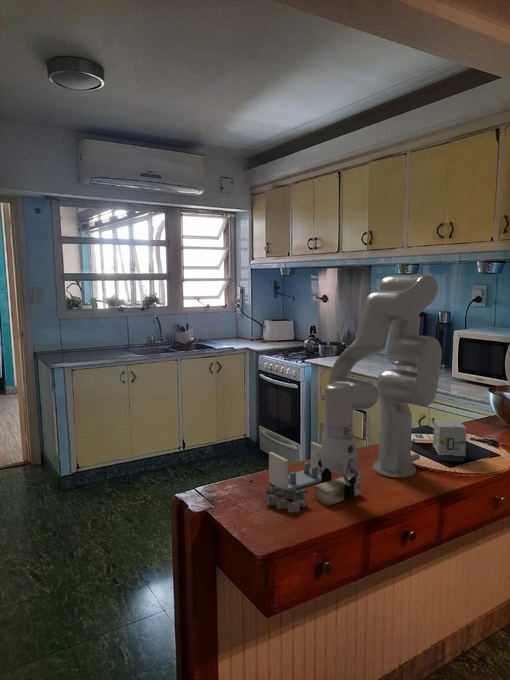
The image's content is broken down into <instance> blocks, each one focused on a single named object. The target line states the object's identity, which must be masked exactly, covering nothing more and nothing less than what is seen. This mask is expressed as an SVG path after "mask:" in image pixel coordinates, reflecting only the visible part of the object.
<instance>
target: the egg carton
mask: <svg viewBox="0 0 510 680" xmlns="http://www.w3.org/2000/svg"><path fill="white" fill-rule="evenodd" d="M262 492H263V494H264V502H265V503H266V504H265V505H267V506H273V505H274V506H276V508H277V509H279V510H281V509H287V512H288V513H298V512H300V508H301V507H302V508H305V507H306V506H307V498H306V496H307V495H308V494H309V491H308V490H306V489H302V488H297V489H293V490H290V489H288V488H279V487H278V486H274V487H273V486H271V487H269V488H268V489H266V490H263V491H262ZM289 500H292V501H293V502H290V501H289Z"/></svg>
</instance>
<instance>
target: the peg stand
mask: <svg viewBox="0 0 510 680" xmlns="http://www.w3.org/2000/svg"><path fill="white" fill-rule="evenodd" d="M321 445H322V444H319V443H317V442H314V441H311V442H310V462H303V470H299V471H290V472H289V460H288V459H287V458H284V457H283V456H280V455H278V454H277V453H275V452H273V451H270V452H268V483H270V484H272V485H273V486H274V487H275V486H278V487H279V488H288V489H290V490H293V489H295V490H298V489H302V488H304V487H306V486H310V485H315V484H317V483H318V484H319V483H321V472H320V467H319V465H318V460H317V457H316V454H317V453H319V452H321ZM329 471H331V470H329ZM331 472H332V471H331Z"/></svg>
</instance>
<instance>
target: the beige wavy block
mask: <svg viewBox="0 0 510 680" xmlns="http://www.w3.org/2000/svg"><path fill="white" fill-rule="evenodd" d="M348 479H349V480H350V479H351V478H350V476H349V475H348ZM313 485H314V489H313V490H314V493H313V494H314V497H313V499H314V500H316V501H317V502H319V503H320V504H323V505H325V506H330V505H333V504H337V503H339V502H342V501H346V500H345V499H344V485H346V483H345V480H344V478H343V476H342V477H338V478H335V479H331V481H328V482H324V483H321V482H320V483H318V484H313ZM360 495H361V481H360V480H359V481H358V482H357V483H356V484H355V491H354V497H358V496H360Z"/></svg>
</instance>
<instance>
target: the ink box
mask: <svg viewBox="0 0 510 680" xmlns="http://www.w3.org/2000/svg"><path fill="white" fill-rule="evenodd" d="M432 432H433V435H432V436H433V437H432V448H433V447H434V448H435V450H436V452H437V453H438V455H454V456H465V457H466V448H467V447H466V445H467V427H466V425H464V424H463V423H462V421H460V420H454V419H452V420H451V419H446V420H445V419H433V430H432Z"/></svg>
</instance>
